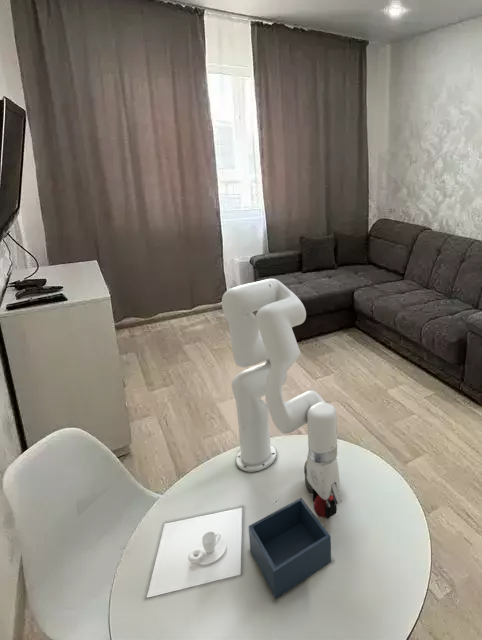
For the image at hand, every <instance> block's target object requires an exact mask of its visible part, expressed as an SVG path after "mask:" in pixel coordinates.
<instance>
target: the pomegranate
mask: <svg viewBox="0 0 482 640" xmlns="http://www.w3.org/2000/svg"><path fill="white" fill-rule="evenodd" d="M332 499H333V495H332V496H330V497H329V500H330V501H331V500H332ZM325 505H326V500H324V499H322V498H321V497H320V496H319V495H318V496H317V497H316V499H315V501H314V502H313V510H314V513H315V514H316V516H318V517H319V518H321V519H327V518H326V517H325Z"/></svg>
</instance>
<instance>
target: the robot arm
mask: <svg viewBox="0 0 482 640" xmlns="http://www.w3.org/2000/svg"><path fill="white" fill-rule="evenodd" d="M221 308H222V311H223V315H224V316H225V319H226V321H227V324H228V327H229V334H230V335H229V337H230V342H231V350H232V357H233V361H234V364H235V365H236V366H238V367H239V368H246V369H244V370H242V371H240V372H239V373H237V374H236V375H235V376H233V379H232V381H231V389H232V393H233V397H234V400H235V406H236V413H237V414H236V415H237V422H238V423H237V424H238V436H239V445H240V446H239V448H240V451H238V453H237V455H236V459H235V461H236V462H235V463H236V466H237V467H238V468H239V470H241V471H245V472H250V473H252V472H253V473H254V472H260V471H262V470H264V469H267V468H268V467H269V466H271V465H272V464H273V463H274V462H275V460H276V459H277V451H276V447H274V446H273V445H272V444H271V429H270V428H271V427H270V426H271V425H270V418H271V420H272V423H273V425H274V426H275V428H276V429H277V430H278V431H279V432H280V433H282V434H287V435H288V434H291V433H292V432H295V431H296V430H298V429H300V428H302V427H303V426H305V425H307V445H308V446H307V447H308V451H307V455H306V456H307V457H306V460H307V480H308V482H309V483H310V485H311V486H312V488H313V495H312V502H313V503H314V501H315V499H316V497H317V496H318V495H319V496H320V497H321V498H322V499H324V500H326V505H325V517H326V518H325V519H327V520H328V519H330V518H331V517H333V516H335V515H336V514H337V510H338V509H337V507H338V506H337V505H338V504H340V503H342V498H341V495H340V493H339V492H340V485H341V484H340V471H339V470H340V469H339V463H338V458H337V457H338V421H337V419H338V418H337V417H338V416H337V414H338V413H337V410H336V407H335V406H334V405H333V404H331V403H328V402H326V401H325V400H324V399H323V397H322V396H321V395H320V394H319V393H318V392H317V391H315V390H312V389H311V390H307V391H305V392H302V393H300V394H298V395H297V396H295V397H293V398H291V399H288V400H287V401H284V397H283V391H282V389H283V386H284V385H285V384H286V382H287V378H288V372H289V370H290V369H291V367H292V366H293V365H294V364H295V363H296V362H297V360H298V359H299V358H300V357H301V349H300V347H299V344H298V342H297V339H296V336H295V333H294V331H293V328H294V327H296V326H300V325H302V324H303V323H304V322H305V321H306V320H307V319H306V318H307V311H306V307H305V306H304V303H303V302H302V301H301V299H300V298H299V297H298V296H297V295H296V294H295V292H293V291H292V290H291V289H289V288H288V287H287V286H286V285H285V284H284V283H283V282H281V281H280V280H279V279H276V278H265V279H262V280H259V281H254V282H249V283H245V284H244V283H243V284H241V285H237V286H234V287H232V288H229V289H228V290H226V291H225V292H224V293H223V294H222V297H221ZM255 312H256V313H255ZM254 313H255V314H254ZM263 396H265V401H264V400H263V399H262V397H263ZM330 496H333V499H332V500H331V501H330V500H329V497H330Z"/></svg>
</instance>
